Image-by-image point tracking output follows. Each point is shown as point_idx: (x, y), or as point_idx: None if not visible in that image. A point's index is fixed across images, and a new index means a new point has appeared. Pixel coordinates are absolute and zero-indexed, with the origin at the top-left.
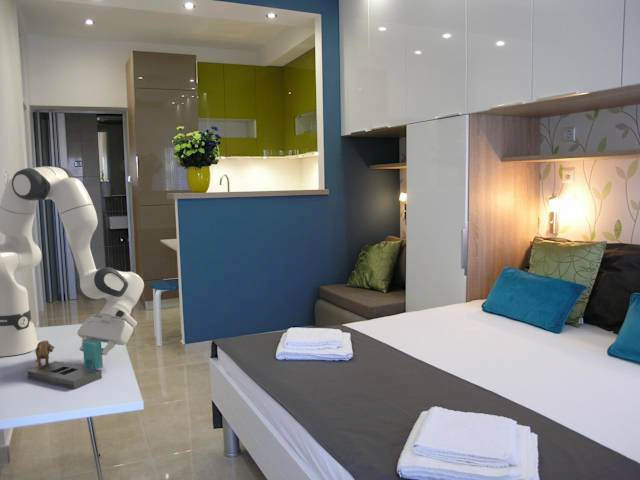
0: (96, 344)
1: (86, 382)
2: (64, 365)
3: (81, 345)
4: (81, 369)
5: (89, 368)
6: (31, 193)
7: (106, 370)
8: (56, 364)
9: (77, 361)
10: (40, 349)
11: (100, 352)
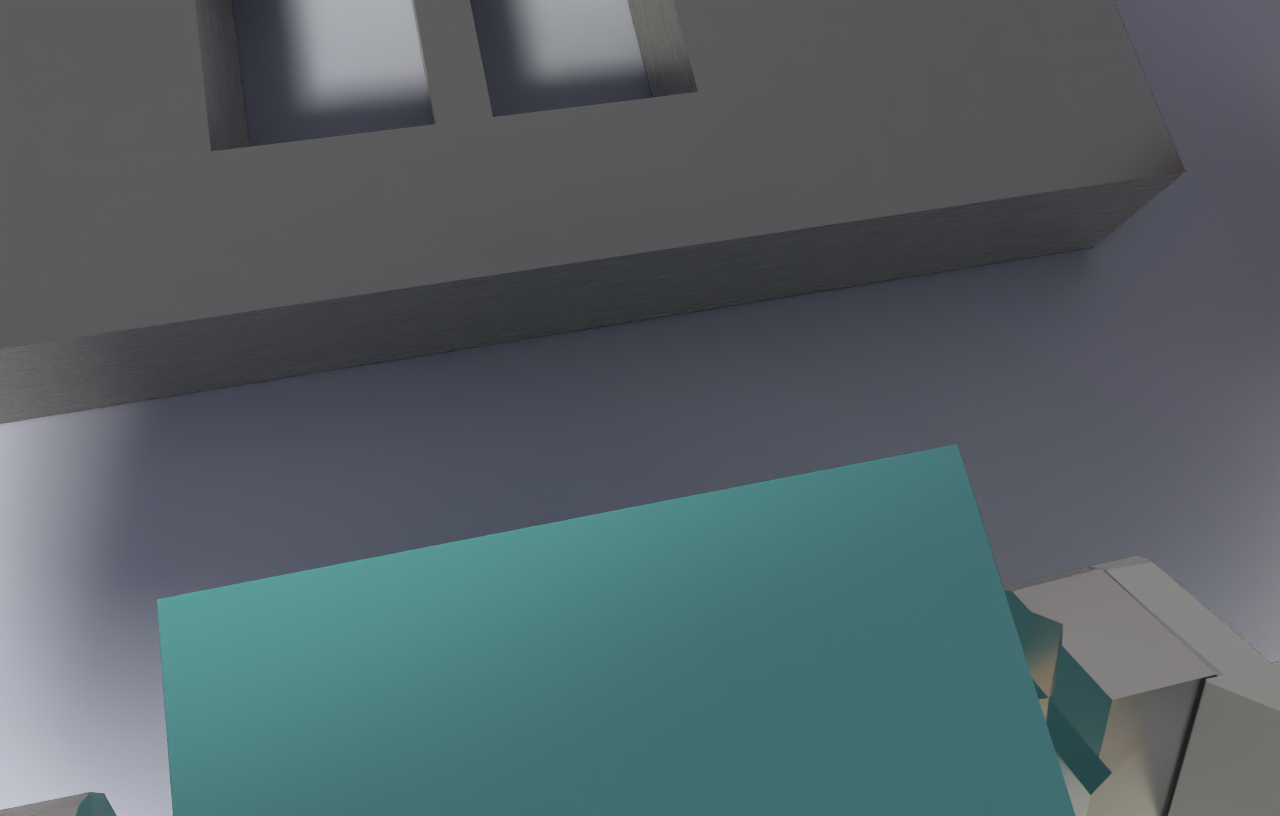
0: (193, 798)
1: None
2: (749, 126)
3: (1219, 628)
4: (148, 179)
5: (19, 312)
6: None
7: None
8: (944, 75)
9: None
10: None
11: (53, 802)
